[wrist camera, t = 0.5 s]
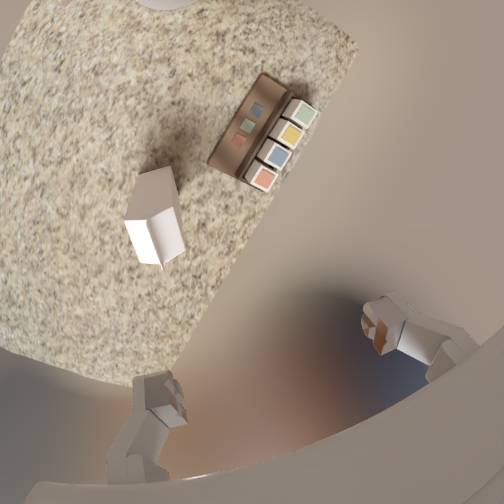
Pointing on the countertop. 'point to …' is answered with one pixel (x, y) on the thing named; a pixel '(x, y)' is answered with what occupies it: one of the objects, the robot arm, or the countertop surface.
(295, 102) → the key sage
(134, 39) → the countertop surface
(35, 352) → the countertop surface
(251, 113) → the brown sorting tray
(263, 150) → the key slate
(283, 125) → the key mustard
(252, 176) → the key terracotta
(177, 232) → the milk
